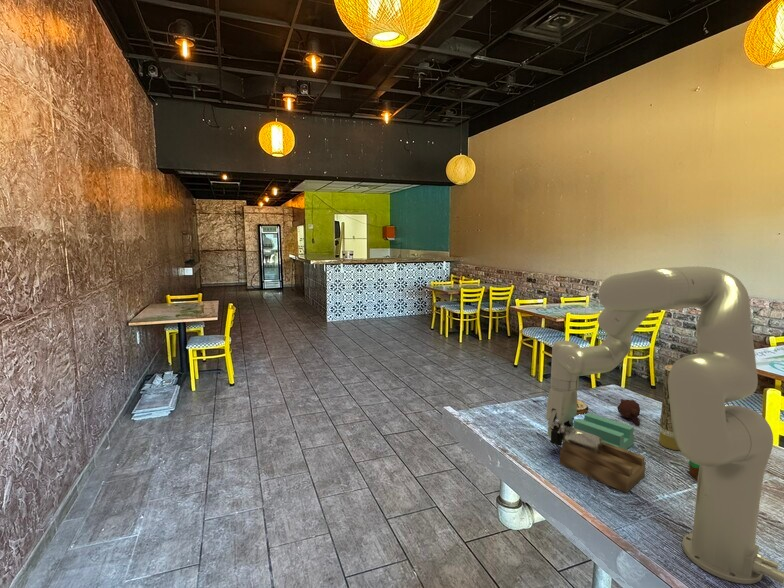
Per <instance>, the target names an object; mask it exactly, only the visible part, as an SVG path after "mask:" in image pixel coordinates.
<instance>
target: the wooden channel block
mask: <svg viewBox="0 0 784 588" xmlns="http://www.w3.org/2000/svg"><path fill="white" fill-rule="evenodd" d="M645 459H646V457H645V456H644V455H641V454H639V453H635V452H633V451H631V450H628V449H627V450H625V449H622V448H619V447H617V446H614V445H611V444H608V443H605V442H603V446H602V450H601V452H600V453H599V454H598V453H595V452H593V451H590V450H588V449H585V448H582V447H580V446H577V445H575V444H572V443H569V442H567V441H565V442H562V445H561V449H560V450H559V462H558V463H559V465H561V466H563V467H566V468H568V469H570V470H573V471H575V472H577V473H580V474H581V475H583V476H587V477H589V478H590V479H594V480H596V481H597V482H600V483H602V484H605V485H607V486H609V487H611V488H614V489H616V490H618V491H621V492H624V493H625V494H627V493H629V491H631V489H633V488H634V487H635V486H636V485H637V484H638V483H639V482H640V481H641V480H642V479H643V478H644V477H646V476H645V475H646V464H647V463H646V461H645Z"/></svg>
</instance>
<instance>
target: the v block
mask: <svg viewBox="0 0 784 588" xmlns="http://www.w3.org/2000/svg"><path fill="white" fill-rule="evenodd" d="M583 418H584V419H582V418H577V419H575V420H573V428H575V429H578V430H581V431H584V432H587V433H590V434H593V435H596V436H599V437H602V440H603V442H605V443H608V444H611V445H614V446H617V447H619V448H622V449H625V450H628V449H629V448H631V447H632V446H634V444H635V434H634V426H631V425H628V424H625V423H622V422H619V421H615V420H613V419H610V418H606V417H602V416H600V415H597V414H593V413H590V412H588V413H585V414H584V417H583Z"/></svg>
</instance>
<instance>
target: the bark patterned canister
mask: <svg viewBox="0 0 784 588" xmlns="http://www.w3.org/2000/svg"><path fill="white" fill-rule="evenodd" d="M673 365H674V364H668V365H665V366H664V367H665V368H664V376H663V387H662V394H663V398H662V400H661V413H660V418H661V423H660V422H659V423H660V425H659V439H658V442H659V445H661V446H662V447H664V448H666V449H669V450H672V451H680V450H679V448H678V446H677V444H676V441H675V438H674V435H673V429H672V420H671V410H670V400H669V390H668V377H669V373H670V370H671V368H672V366H673Z"/></svg>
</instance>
